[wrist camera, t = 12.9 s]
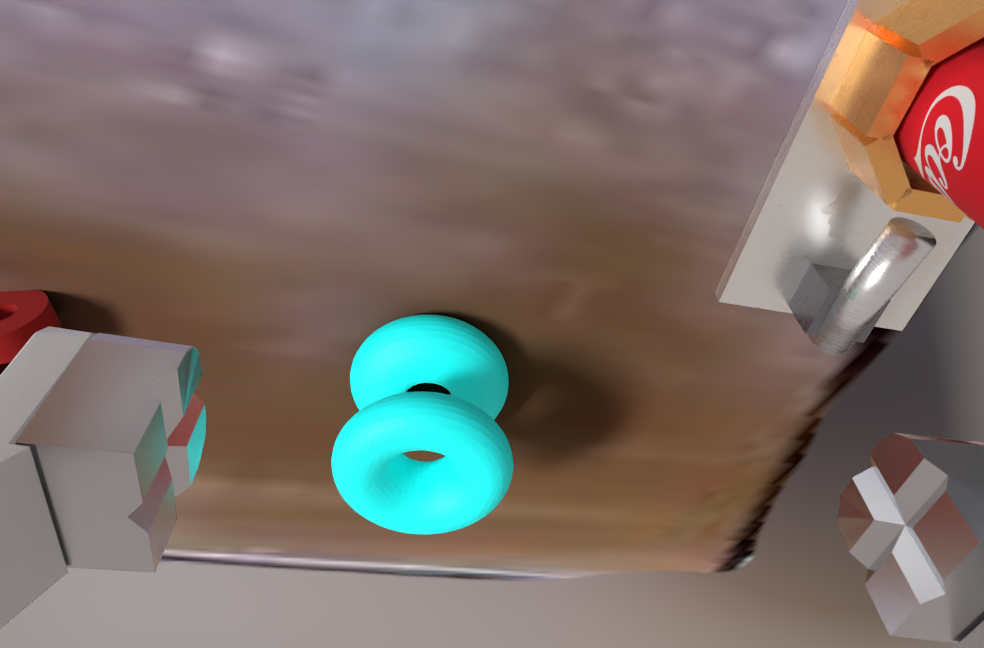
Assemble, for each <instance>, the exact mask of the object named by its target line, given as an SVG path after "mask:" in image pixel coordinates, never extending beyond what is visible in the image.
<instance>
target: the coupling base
mask: <svg viewBox="0 0 984 648" xmlns="http://www.w3.org/2000/svg"><path fill="white" fill-rule="evenodd" d="M983 37H984V0H848V1H847V3H846V5H845V7H844V10H843V12H842V14H841V16H840V18H839V21H838V23H837V25H836V27H835V29H834V32H833V34H832V36H831V38H830V40H829V42H828V45H827V47H826V49H825V51H824V53H823V56H822V58H821V60H820V62H819V64H818V67H817V69H816V71H815V73H814V75H813V78H812V80H811V82H810V84H809V86H808V88H807V91H806V93H805V95H804V97H803V99H802V102H801V104H800V106H799V108H798V110H797V113H796V115H795V117H794V119H793V121H792V124H791V126H790V128H789V130H788V132H787V134H786V137H785V139H784V141H783V143H782V145H781V148H780V150H779V152H778V154H777V156H776V159H775V161H774V163H773V165H772V167H771V170H770V172H769V174H768V176H767V178H766V180H765V183H764V185H763V187H762V189H761V191H760V194H759V196H758V198H757V200H756V202H755V205H754V207H753V209H752V211H751V213H750V216H749V218H748V220H747V222H746V224H745V226H744V229H743V231H742V233H741V235H740V237H739V240H738V242H737V244H736V246H735V248H734V251H733V253H732V255H731V257H730V259H729V262H728V264H727V266H726V268H725V270H724V272H723V275H722V277H721V279H720V281H719V283H718V286H717V288H716V290H715V292H714V293H715V295H716V297H717V299H718V301H719V302H724V303H730V304H736V305H742V306H749V307H755V308H761V309H768V310H774V311H780V312H787V313H793V314H794V316H795V317H796V319H797V321H798V322H799V324H800V325H801V327H802V329H803V330H804V332H805V334H808V336H809V338H810V339H811V341H812V342H813V343H814V344H815V345H816V346H817V347H818V348H820V349H821V350H823V351H825V352H827V353H830V354H834V355H841V354H844V353H846V352H847V350H848V349H849V348H850V347H851V346H852V344H853V343H854V342H855V341H856V342H862V343H864V342H865V340H866V339H867V337H868V335H869V334H870V332H871V331H872V329H873V328H874V326H875V327H881V328H888V329H894V330H900V331H902V330H903V329H904V327H905V326H906V324H907V323H908V321H909V320H910V318H911V317H912V315H913V314H914V312H915V311H916V309H917V308H918V307H919V305H920V304H921V302H922V301H923V299H924V298H925V296H926V295H927V293H928V292H929V290H930V289H931V287H932V286H933V284H934V283H935V281H936V280H937V278H938V277H939V275H940V274H941V272H942V271H943V269H944V268H945V266H946V265H947V263H948V262H949V260H950V259H951V257H952V256H953V254H954V253H955V251H956V250H957V248H958V247H959V245H960V244H961V242H962V241H963V239H964V238H965V236H966V235H967V233H968V232H969V230H970V229H971V227H972V226H973V224H974V223H975V222H974V221H973V220H972V219H971V218H970V217H968V216H967V215H966V214H965V213H964V212H962V211H961V210H960V209H959V208H958V207H956V206H955V205H954V204H953V203H952V202H951V201H949V200H948V199H947V198H946V197H945V196H943V195H942V194H941V193H940V192H939V191H937V190H936V189H935V188H934V187H933V186H932V185H930V184H929V183H928V182H927V181H926V180H924V179H923V178H922V177H921V176H920V175H918V174H917V173H916V172H915V171H914V170H913V169H911V168H910V167H909V166H908V165H907V164H905V163H904V162H903V161H902V160H901V158H900V155H899V152H898V149H897V147H896V144H895V141H894V138H893V135H894V133H895V131H896V130H897V128H898V126H899V124H900V122H901V120H902V119H903V117H904V115H905V113H906V111H907V110H908V108H909V106H910V104H911V102H912V100H913V99H914V97H915V95H916V93H917V91H918V89H919V88H920V86H921V84H922V82H923V80H924V79H925V77H926V75H927V73H928V71H929V69H930V68H931V66H933V65H934V64H936V63H938V62H940V61H942V60H943V59H945V58H947V57H949V56H951V55H952V54H954V53H956V52H958V51H960V50H961V49H963V48H965V47H967V46H968V45H970V44H972V43H974V42H976V41H977V40H979V39H981V38H983Z"/></svg>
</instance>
